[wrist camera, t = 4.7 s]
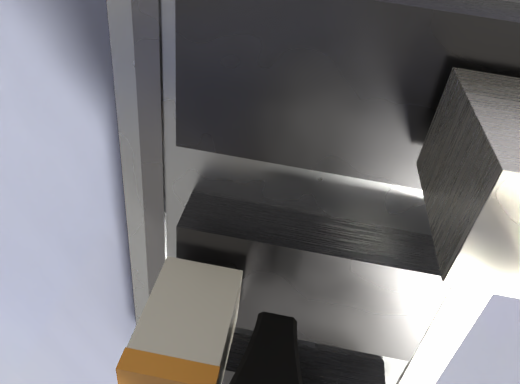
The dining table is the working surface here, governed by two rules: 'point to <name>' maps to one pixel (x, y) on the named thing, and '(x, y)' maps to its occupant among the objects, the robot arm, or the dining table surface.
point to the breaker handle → (184, 326)
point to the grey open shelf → (327, 167)
